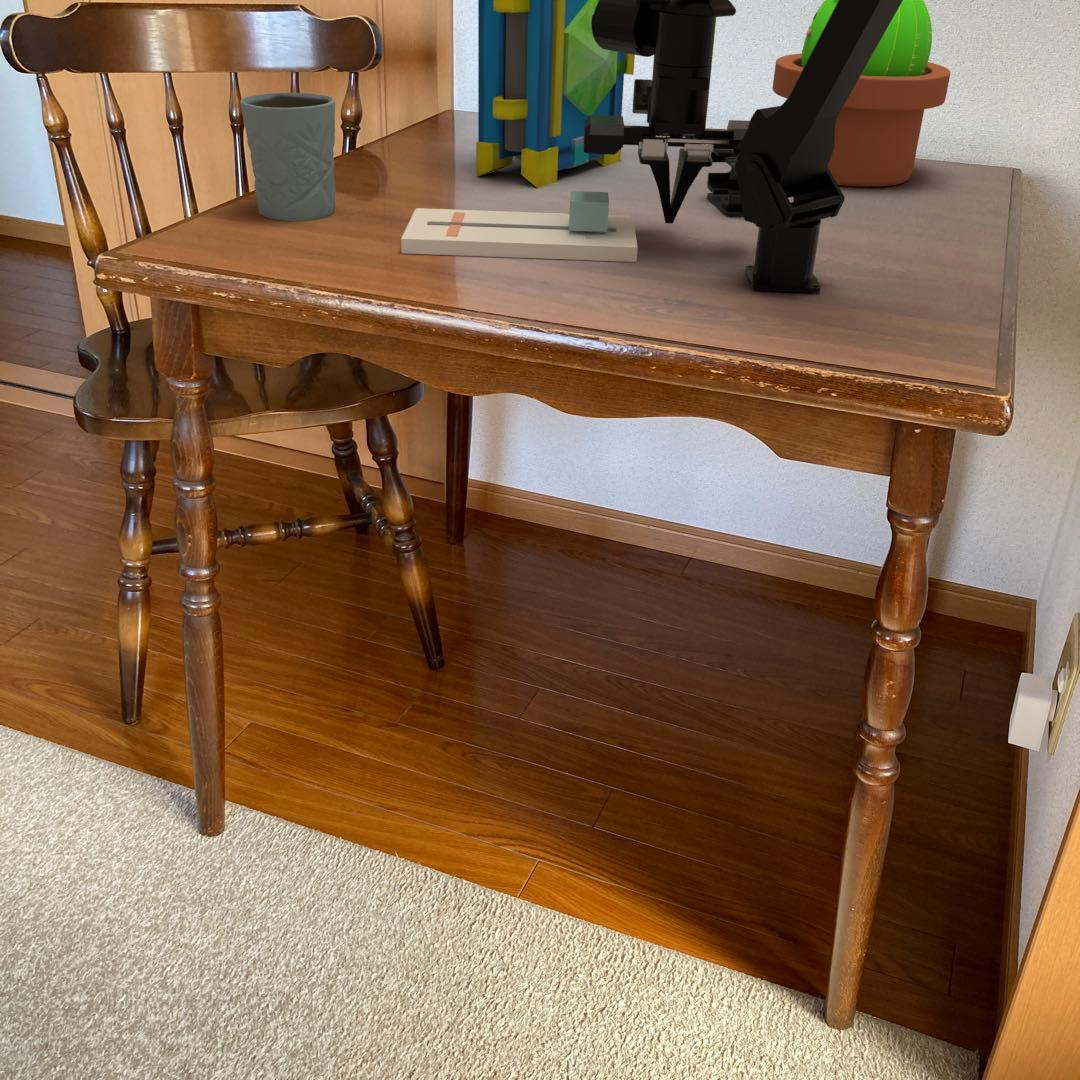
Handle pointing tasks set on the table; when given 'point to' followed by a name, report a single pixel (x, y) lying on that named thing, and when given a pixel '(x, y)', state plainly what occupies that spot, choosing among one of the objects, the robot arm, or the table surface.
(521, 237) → the fader panel
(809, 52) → the potted cactus
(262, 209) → the grey-green plant pot
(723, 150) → the end cap
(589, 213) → the fader tab
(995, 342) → the table surface
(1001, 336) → the table surface
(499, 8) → the decorative book
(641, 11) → the robot arm
